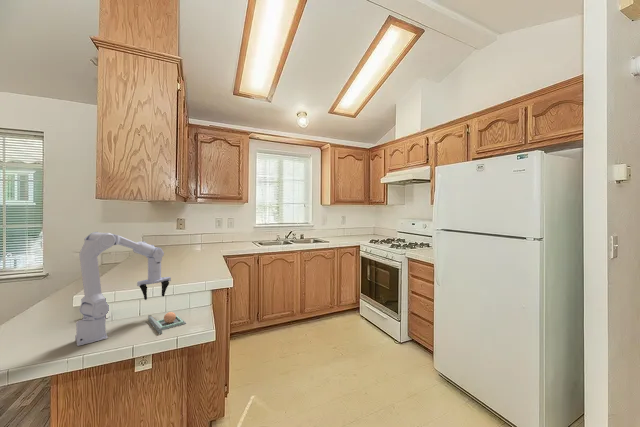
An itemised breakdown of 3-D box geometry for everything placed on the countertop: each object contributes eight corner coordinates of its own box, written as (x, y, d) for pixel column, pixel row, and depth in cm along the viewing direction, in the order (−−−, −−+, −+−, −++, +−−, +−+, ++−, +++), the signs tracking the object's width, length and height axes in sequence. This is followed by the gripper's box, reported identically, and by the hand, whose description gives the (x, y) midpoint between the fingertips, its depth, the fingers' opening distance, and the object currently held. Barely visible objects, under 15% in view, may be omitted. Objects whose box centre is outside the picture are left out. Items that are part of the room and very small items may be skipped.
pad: (159, 330, 119) (159, 328, 119) (153, 323, 127) (153, 320, 127) (186, 323, 127) (186, 321, 127) (178, 317, 134) (178, 314, 134)
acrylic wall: (159, 334, 116) (159, 328, 116) (148, 320, 130) (148, 315, 130) (162, 333, 116) (162, 327, 116) (150, 319, 131) (150, 314, 131)
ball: (165, 326, 123) (165, 315, 123) (162, 322, 127) (162, 312, 127) (177, 322, 127) (177, 312, 126) (174, 319, 130) (173, 309, 130)
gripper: (139, 274, 127) (139, 302, 127) (172, 269, 137) (172, 296, 137) (136, 271, 132) (136, 299, 132) (168, 267, 142) (168, 293, 142)
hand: (154, 297), depth 135 cm, fingers open, 7 cm apart
